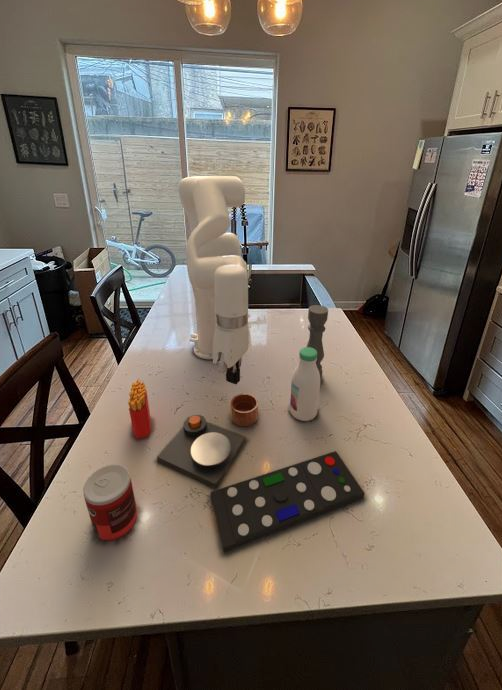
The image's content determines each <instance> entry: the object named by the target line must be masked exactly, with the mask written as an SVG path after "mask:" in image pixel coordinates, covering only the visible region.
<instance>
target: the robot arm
mask: <svg viewBox="0 0 502 690" xmlns="http://www.w3.org/2000/svg"><path fill="white" fill-rule="evenodd" d="M178 195H179V200H180V202H181V205H182V208H183V210H184V212H185V214H186V216H187V219H188V223H189V231H190V232H189V233H190V235H189V237H188V239H187V242H186V244H185V251H184V253H185V254H184V255H185V263H186V269H187V276H188V281H189V283H190V285H191V288H192V295H193V299H194V309H195V323H196V333H193V332H191V334H190V337H189V342H191V343H194V346H193V352H194V355H195V356H196V357H198V358H200V359H203V360H212V362H213V364H214V365H217V364H218V363H219V365H218V373H220V374H225V381H226V382H227V383H230V384H233V385H238V384H239V383H240V382H241V366H242V360H243V359H242V358H243V356H245V354H246V353H247V352H248V350H249V346H250V344H249V343H250V332H249V273H248V264H247V262H246V261H245V260H244V258H243V255H242V246H241V242H240V239H239V238H238V235H236V234H235V233H233V232H228V231H229V229H230V227H231V224H232V223H231V218H230V214H229V210H228V209H229V208H240V207H242V206H243V205H244V203H245V201H246V191H245V185H244V184H243V181H242V180H241V179H240V178H239V177H238V176H236V175H235V176H233V175H232V176H231V175H229V176H228V175H227V176H223V175H222V176H221V175H219V176H218V175H214V176H213V175H212V176H211V175H209V176H208V175H207V176H206V175H204V176H203V175H202V176H201V175H200V176H199V175H198V176H197V175H195V176H187V177H185V178H182V179H181V180H180V181H179V183H178Z"/></svg>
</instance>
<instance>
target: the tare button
mask: <svg viewBox="0 0 502 690" xmlns="http://www.w3.org/2000/svg"><path fill="white" fill-rule="evenodd" d="M191 416H192V415H191ZM200 424H201V422H200V417H199V416H192V417H191V418H190V419H189V425H190V427H191V428H197V427H199V426H200Z"/></svg>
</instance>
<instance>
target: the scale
mask: <svg viewBox="0 0 502 690" xmlns="http://www.w3.org/2000/svg"><path fill="white" fill-rule="evenodd" d="M192 416H199V417H200V422H201V424H200V426H199V427H197V428H191V427H190V425H189V419H190V418H191V417H192ZM211 432H215V433H220V434H223V435H224V436H226V437H227V438H228V440H229V442H230V445H231V450H230V453H229V455H228V457H227V458H226V459H225V460H224V461H223V462H222V463H220V464H218V465H215V466H208V467H207V466H201V465H199V464H197V463H196V462H195V461H194V460H193V459H192V457H191V446H192V444H193V442H194V441H195V440H196V439H197V438H198V437H200V436H201V435H203V434H206V433H211ZM246 439H247V437H246V436H244V435H242V434H239V433H237V432H234V431H231V430H229V429H227V428H223V427H221V426H218V425H216V424H213V423H211V422H208V421H207V419H206V418H205V416H203V415H201V414H192V415H190V416H187V418H186V419H185V420H184V421H183V425H182V428H181V429H180V430H179V431H178V432H177V433H176V435H175V436H174V437H172V439H171V440H170V441H169V442H168V443H167V444H166V446H165V447H163V450H161V451H160V452H159V454H158V455H157V456H156V459H157V462H159V463H160V464H163V465H164V466H167V467H169V468H172V469H174V470H176V471H178V472H180V473H182V474H184V475H186V476H188V477H190V478H193V479H195V480H197V481H199V482H201V483H204V484H206V485H208V486H210V487H212V488H214V489H217V487H218V486H219V484H220V482H221V481H222V480H223V478H224V477H225V475H226V473H227V471H228V470H229V468H230V467H231V465H232V463H233V462H234V461H235V459H236V458H237V455H238V454H239V453H240V450H242V447H243V446H244V444H245V443H246Z"/></svg>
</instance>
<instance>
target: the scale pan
mask: <svg viewBox="0 0 502 690" xmlns="http://www.w3.org/2000/svg"><path fill="white" fill-rule="evenodd" d="M230 450H231V445H230V442H229V440H228V438H227V437H226V436H224V435H223V434H220V433H215V432H211V433H206V434H203V435H201V436H200V437H198V438H197V439H196V440H195V441H194V442H193V444H192V446H191V457H192V459H193V460H194V461H195V462H196V463H197V464H199V465H201V466H207V467H208V466H215V465H218V464H220V463H222V462H223V461H224V460H225V459H226V458H227V457H228V455H229V453H230Z"/></svg>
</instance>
